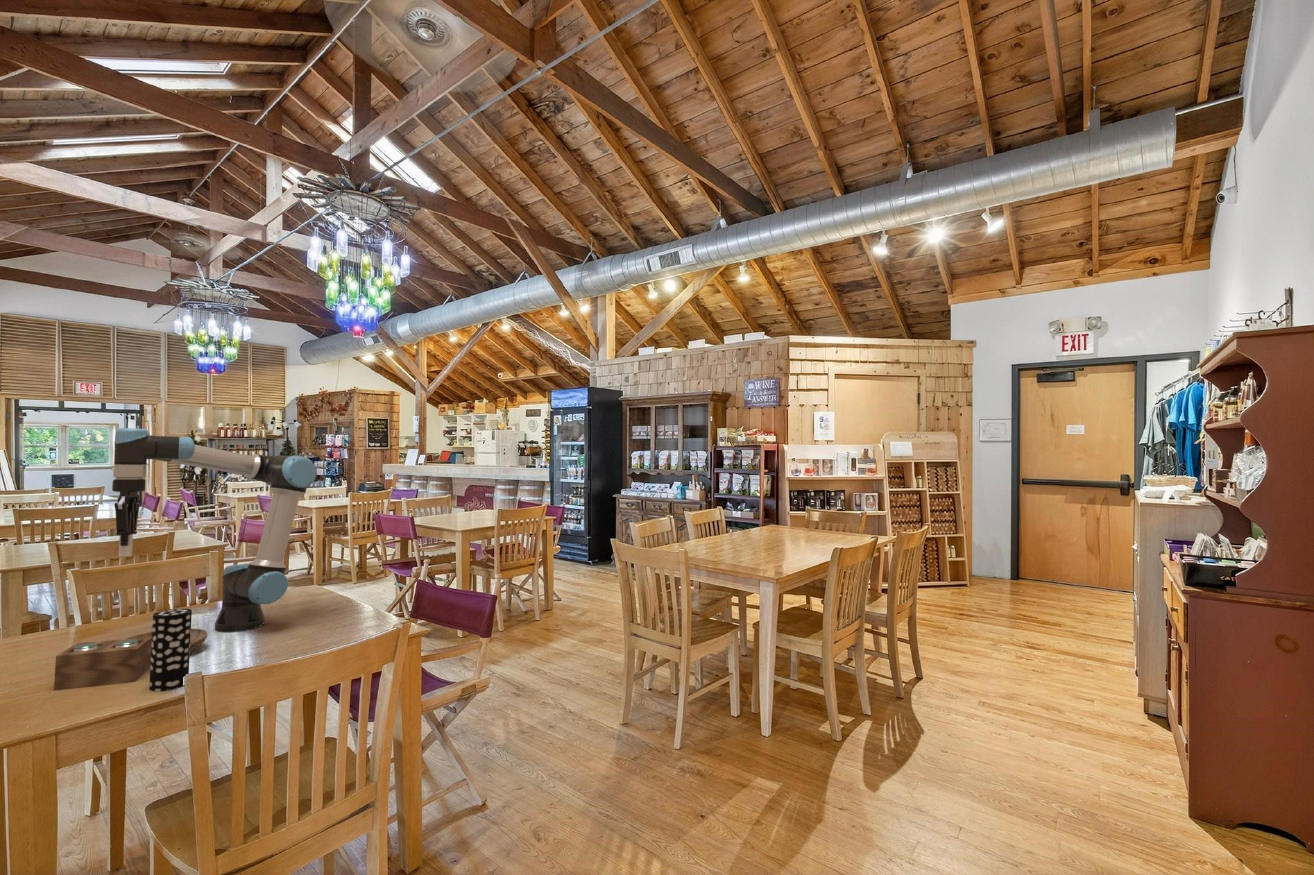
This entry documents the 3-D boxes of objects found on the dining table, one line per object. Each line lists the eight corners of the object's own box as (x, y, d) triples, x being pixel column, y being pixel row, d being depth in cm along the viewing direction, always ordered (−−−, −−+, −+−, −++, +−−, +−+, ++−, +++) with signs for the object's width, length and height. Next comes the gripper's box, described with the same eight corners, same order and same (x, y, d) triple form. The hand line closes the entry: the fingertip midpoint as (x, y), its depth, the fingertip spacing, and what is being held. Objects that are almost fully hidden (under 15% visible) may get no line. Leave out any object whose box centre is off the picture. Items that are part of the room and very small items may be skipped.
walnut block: (150, 667, 176) (152, 636, 176) (134, 681, 165) (136, 648, 165) (75, 674, 169) (77, 643, 169) (53, 690, 158) (55, 656, 158)
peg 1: (99, 672, 168) (100, 642, 168) (91, 678, 164) (93, 647, 164) (76, 674, 166) (78, 643, 166) (68, 680, 162) (70, 649, 162)
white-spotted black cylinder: (164, 680, 166) (167, 608, 167) (195, 679, 167) (199, 608, 168) (140, 691, 158) (145, 616, 159) (173, 691, 159) (177, 616, 159)
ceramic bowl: (129, 647, 194) (129, 631, 194) (215, 640, 203) (216, 625, 203) (95, 671, 173) (96, 653, 173) (194, 661, 182) (194, 645, 182)
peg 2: (139, 668, 172) (140, 638, 172) (132, 673, 168) (134, 643, 168) (118, 670, 170) (119, 640, 170) (111, 676, 166) (112, 645, 166)
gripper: (122, 477, 185) (118, 553, 184) (104, 479, 173) (99, 560, 172) (152, 477, 188) (148, 552, 187) (136, 479, 176) (132, 558, 175)
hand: (125, 556), depth 179 cm, fingers closed
